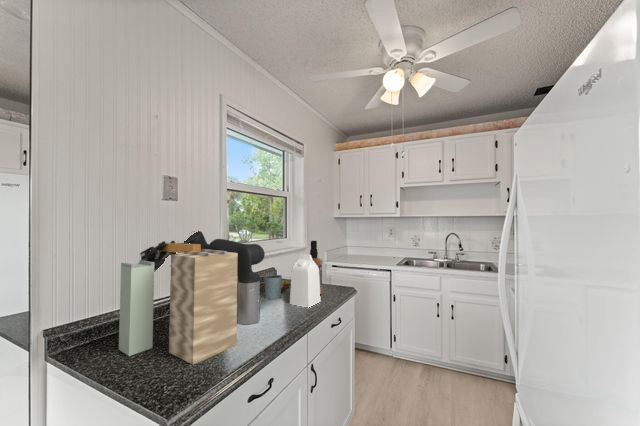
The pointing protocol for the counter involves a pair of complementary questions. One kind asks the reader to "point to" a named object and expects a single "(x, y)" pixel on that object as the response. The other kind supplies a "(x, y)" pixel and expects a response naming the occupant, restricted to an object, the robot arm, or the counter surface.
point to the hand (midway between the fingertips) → (169, 243)
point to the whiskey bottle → (317, 261)
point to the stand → (202, 304)
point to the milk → (305, 282)
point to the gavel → (285, 285)
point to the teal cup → (273, 286)
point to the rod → (181, 247)
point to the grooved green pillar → (136, 307)
